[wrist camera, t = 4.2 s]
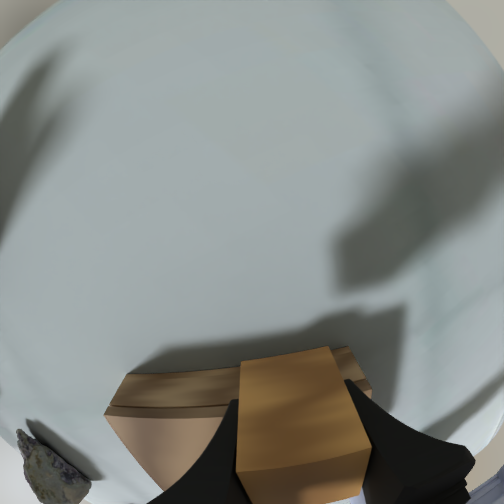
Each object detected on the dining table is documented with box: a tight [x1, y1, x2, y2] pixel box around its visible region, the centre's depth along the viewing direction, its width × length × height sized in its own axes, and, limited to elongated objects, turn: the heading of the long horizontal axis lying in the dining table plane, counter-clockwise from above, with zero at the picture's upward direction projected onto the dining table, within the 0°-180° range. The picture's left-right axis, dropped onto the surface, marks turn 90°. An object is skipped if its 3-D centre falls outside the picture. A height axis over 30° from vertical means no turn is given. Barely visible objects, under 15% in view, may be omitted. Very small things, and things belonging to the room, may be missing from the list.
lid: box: [104, 380, 372, 491], centre depth 17 cm, size 18×13×5 cm
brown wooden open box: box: [109, 346, 366, 409], centre depth 19 cm, size 18×12×4 cm, turn 100°
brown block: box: [236, 346, 372, 504], centre depth 9 cm, size 4×4×6 cm
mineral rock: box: [16, 429, 92, 504], centre depth 20 cm, size 13×11×10 cm
